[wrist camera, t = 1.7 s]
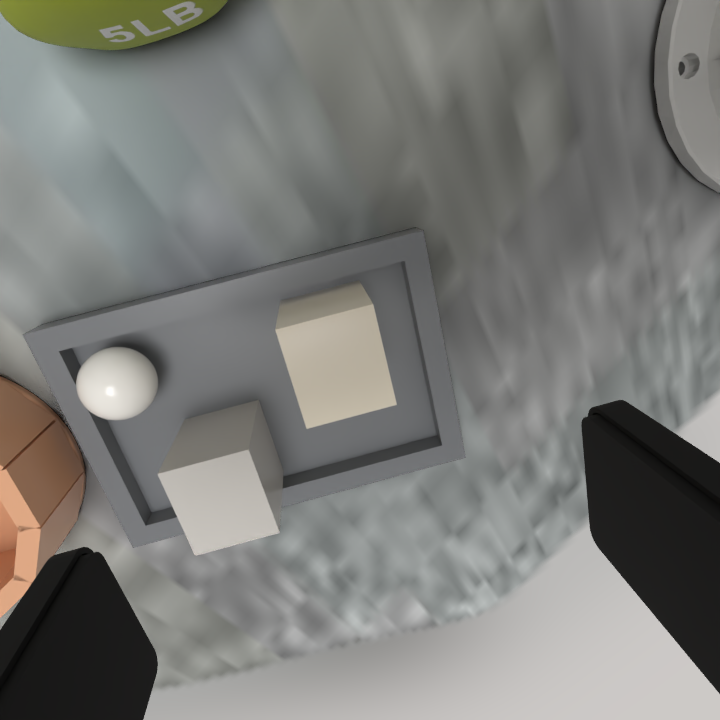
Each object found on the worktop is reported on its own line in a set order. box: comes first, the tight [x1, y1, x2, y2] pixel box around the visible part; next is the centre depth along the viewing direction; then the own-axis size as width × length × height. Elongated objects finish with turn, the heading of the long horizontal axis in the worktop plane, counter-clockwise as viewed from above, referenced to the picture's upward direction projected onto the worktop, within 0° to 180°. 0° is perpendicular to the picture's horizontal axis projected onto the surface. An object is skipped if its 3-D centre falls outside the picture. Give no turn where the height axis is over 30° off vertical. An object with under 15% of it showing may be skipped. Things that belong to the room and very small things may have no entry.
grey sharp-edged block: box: [158, 400, 284, 556], centre depth 21 cm, size 4×4×4 cm
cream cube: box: [275, 280, 397, 429], centre depth 20 cm, size 4×4×4 cm
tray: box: [23, 227, 465, 548], centre depth 22 cm, size 16×11×2 cm, turn 103°
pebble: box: [76, 347, 158, 420], centre depth 20 cm, size 3×3×3 cm
